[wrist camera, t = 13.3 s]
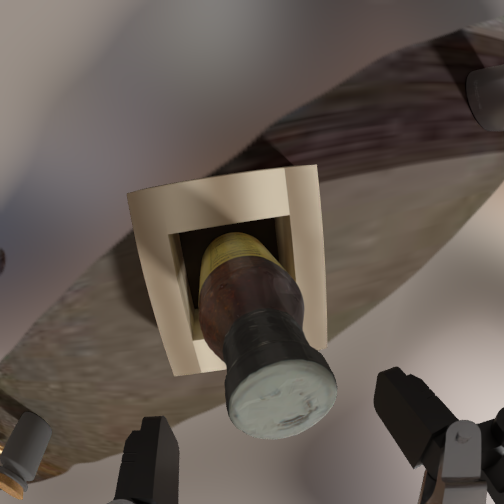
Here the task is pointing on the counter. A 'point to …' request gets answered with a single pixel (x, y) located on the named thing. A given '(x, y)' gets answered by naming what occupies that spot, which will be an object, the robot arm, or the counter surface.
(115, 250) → the counter surface
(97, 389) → the counter surface
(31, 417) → the bottle
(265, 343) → the sauce bottle
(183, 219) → the dock block
